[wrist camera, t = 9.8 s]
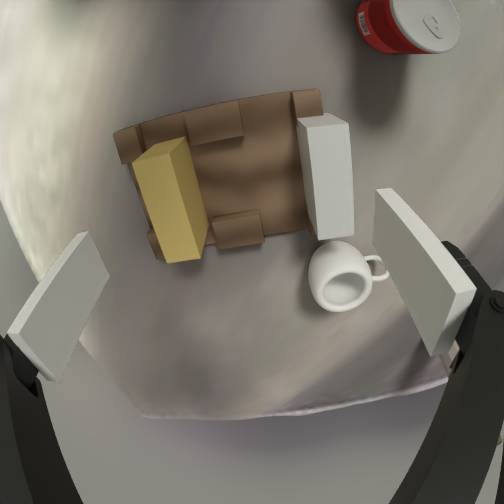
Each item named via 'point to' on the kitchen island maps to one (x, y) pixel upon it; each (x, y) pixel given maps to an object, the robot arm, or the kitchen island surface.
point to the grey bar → (327, 174)
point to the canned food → (409, 26)
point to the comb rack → (237, 163)
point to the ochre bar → (173, 199)
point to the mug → (341, 276)
